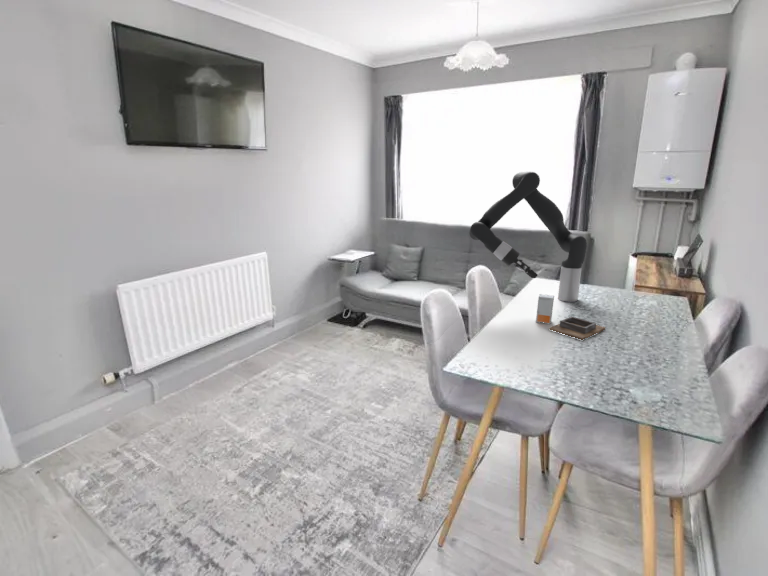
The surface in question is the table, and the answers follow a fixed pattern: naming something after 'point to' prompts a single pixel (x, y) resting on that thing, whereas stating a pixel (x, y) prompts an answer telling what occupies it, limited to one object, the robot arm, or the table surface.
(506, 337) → the table surface
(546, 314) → the skincare box
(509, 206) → the robot arm
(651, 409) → the table surface
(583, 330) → the holder
